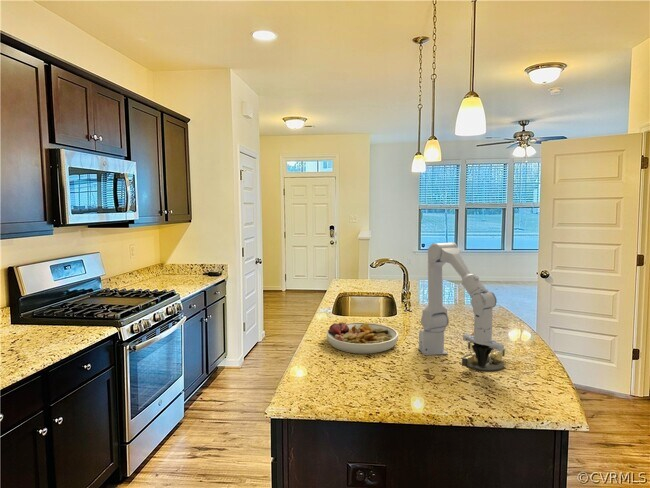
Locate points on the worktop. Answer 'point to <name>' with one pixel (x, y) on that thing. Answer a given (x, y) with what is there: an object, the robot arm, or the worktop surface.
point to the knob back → (470, 346)
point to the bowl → (362, 337)
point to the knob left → (470, 359)
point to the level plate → (487, 365)
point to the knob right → (497, 356)
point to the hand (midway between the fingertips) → (482, 365)
